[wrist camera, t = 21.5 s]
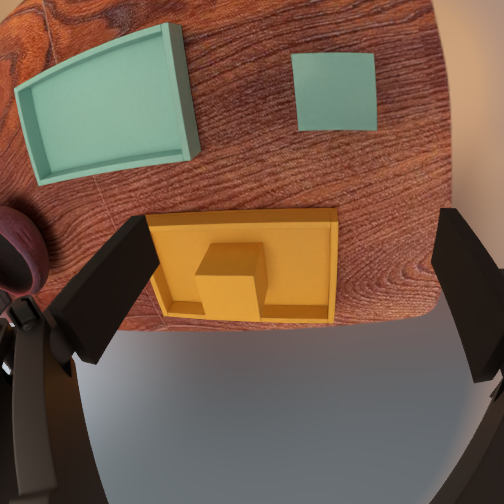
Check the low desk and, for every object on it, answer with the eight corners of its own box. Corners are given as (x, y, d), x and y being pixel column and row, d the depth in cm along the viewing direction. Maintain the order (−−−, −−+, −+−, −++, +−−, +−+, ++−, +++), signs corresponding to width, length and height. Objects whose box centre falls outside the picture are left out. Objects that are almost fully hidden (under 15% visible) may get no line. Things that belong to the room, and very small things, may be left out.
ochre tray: (336, 207, 26) (338, 221, 24) (333, 305, 32) (333, 323, 30) (144, 214, 30) (132, 227, 28) (171, 301, 36) (163, 316, 34)
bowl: (33, 181, 30) (-13, 213, 24) (77, 269, 37) (42, 310, 30) (-17, 209, 35) (-52, 236, 28) (18, 277, 41) (-10, 308, 34)
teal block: (361, 56, 19) (373, 53, 15) (364, 118, 22) (377, 130, 18) (294, 56, 20) (290, 53, 16) (300, 118, 23) (298, 131, 19)
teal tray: (181, 24, 20) (167, 21, 17) (201, 151, 26) (190, 160, 23) (30, 83, 23) (13, 88, 21) (53, 176, 29) (38, 186, 27)
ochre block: (263, 242, 29) (253, 275, 25) (268, 285, 31) (260, 321, 27) (210, 243, 30) (193, 275, 26) (220, 284, 32) (206, 319, 28)
